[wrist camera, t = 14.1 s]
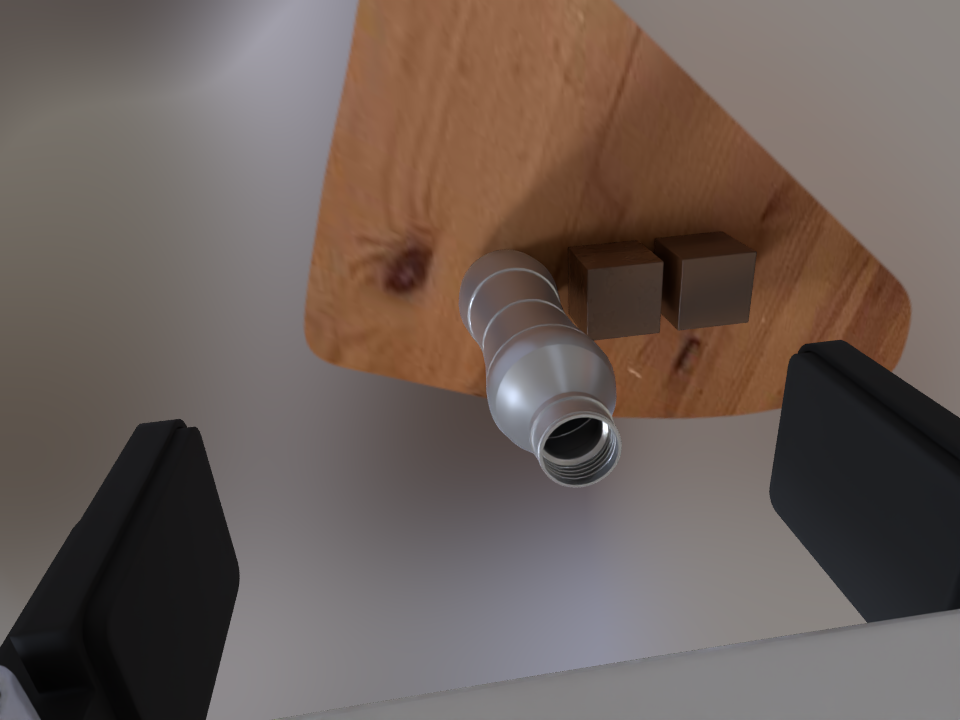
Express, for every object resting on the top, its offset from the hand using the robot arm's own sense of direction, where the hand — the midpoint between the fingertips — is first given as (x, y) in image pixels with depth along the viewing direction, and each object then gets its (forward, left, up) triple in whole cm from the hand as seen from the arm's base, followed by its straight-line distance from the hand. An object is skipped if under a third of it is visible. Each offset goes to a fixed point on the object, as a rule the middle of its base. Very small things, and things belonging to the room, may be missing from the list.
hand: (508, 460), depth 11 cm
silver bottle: (+10, +5, -34) cm, 36 cm away
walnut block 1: (+10, +12, -34) cm, 38 cm away
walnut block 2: (+10, +18, -34) cm, 40 cm away
